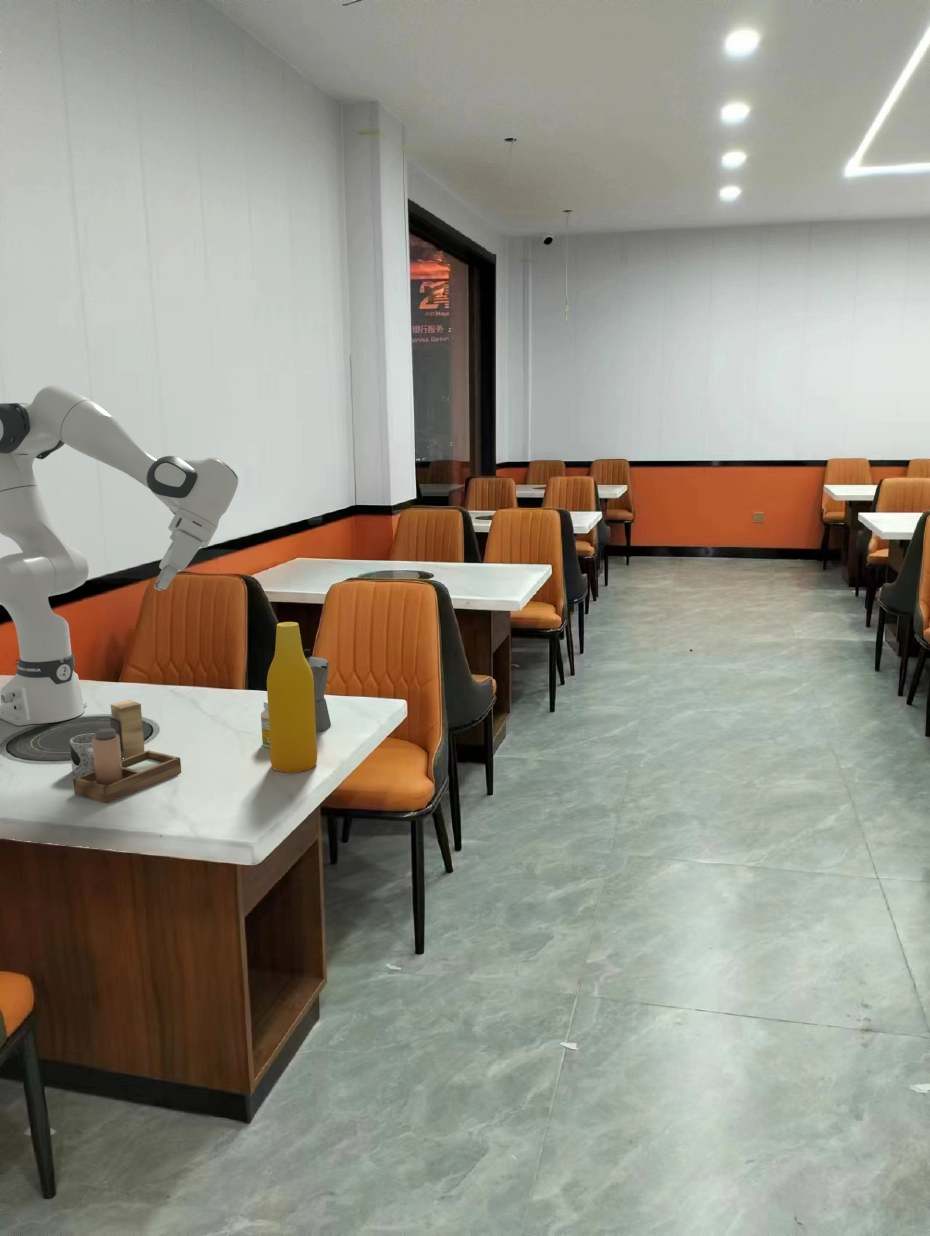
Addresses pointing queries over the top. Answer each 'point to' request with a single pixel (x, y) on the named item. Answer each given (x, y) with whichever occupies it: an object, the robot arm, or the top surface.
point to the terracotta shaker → (107, 756)
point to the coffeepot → (319, 689)
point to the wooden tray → (129, 776)
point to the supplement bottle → (265, 725)
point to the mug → (82, 754)
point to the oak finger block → (128, 727)
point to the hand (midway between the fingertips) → (159, 588)
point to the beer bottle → (291, 704)
